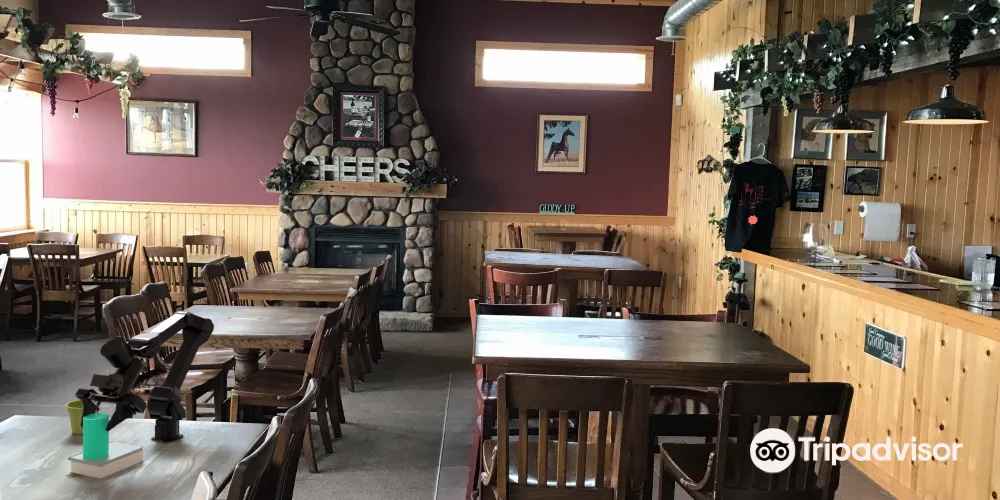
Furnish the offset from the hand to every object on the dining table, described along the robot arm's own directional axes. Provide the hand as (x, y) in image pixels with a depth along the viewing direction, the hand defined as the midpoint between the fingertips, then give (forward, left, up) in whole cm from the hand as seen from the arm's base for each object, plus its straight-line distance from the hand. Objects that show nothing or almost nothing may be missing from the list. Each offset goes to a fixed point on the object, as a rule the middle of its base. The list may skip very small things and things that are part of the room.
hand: (94, 428), depth 200 cm
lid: (-4, -1, -9) cm, 10 cm away
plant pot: (-22, -29, -12) cm, 38 cm away
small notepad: (-4, 0, -12) cm, 12 cm away
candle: (-2, -1, -8) cm, 8 cm away
